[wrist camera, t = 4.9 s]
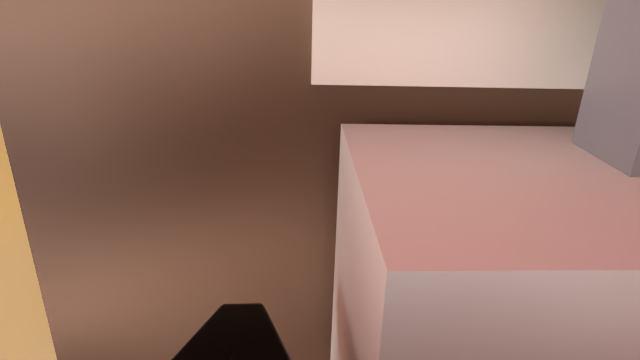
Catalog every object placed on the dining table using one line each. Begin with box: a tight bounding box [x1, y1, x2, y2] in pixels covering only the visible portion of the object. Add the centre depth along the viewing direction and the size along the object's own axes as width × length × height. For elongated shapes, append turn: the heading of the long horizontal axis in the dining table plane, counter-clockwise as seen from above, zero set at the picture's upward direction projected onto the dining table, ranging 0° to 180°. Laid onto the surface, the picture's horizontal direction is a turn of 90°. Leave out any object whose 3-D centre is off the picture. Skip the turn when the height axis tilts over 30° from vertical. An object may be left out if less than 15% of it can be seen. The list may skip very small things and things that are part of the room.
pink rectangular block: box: [330, 0, 640, 360], centre depth 7 cm, size 10×5×5 cm, turn 178°
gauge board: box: [0, 0, 606, 360], centre depth 9 cm, size 14×20×6 cm
